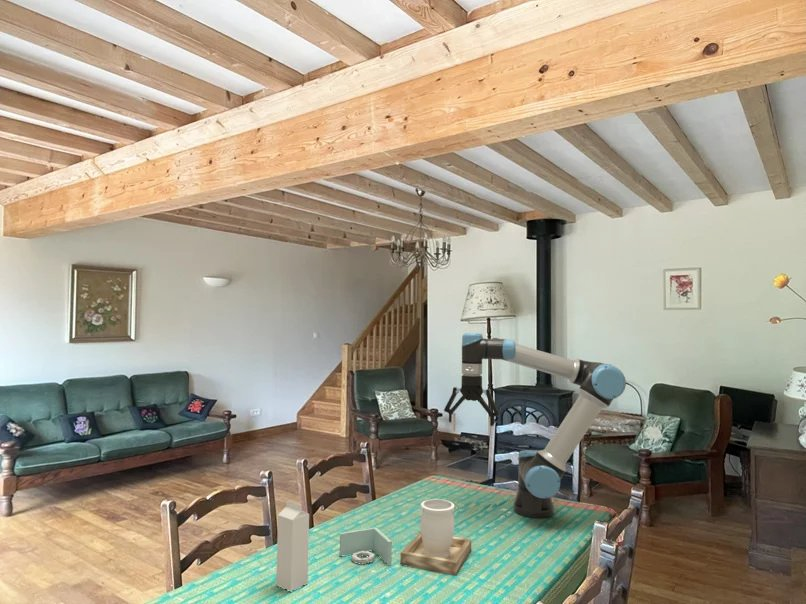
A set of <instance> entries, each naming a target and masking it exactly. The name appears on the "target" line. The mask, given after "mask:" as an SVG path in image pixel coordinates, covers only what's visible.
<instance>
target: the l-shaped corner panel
mask: <svg viewBox="0 0 806 604" xmlns="http://www.w3.org/2000/svg"><path fill="white" fill-rule="evenodd" d="M392 543H393V541H392V540H391V539H389V537H387V536H386V534H384V533H383V531H381V530H380V529H379V528H377V526H375V527H368V528H362V529H357V530H356V529H355V530H350V531H344V532H340V533H339V555H340V556H342V555H348V554H353V553H355V554H353V555H351V562H352V561H354V562H357V563H360V564H359V565H362V563H363V564H366V563H369V562H370V563H373V562H374V561H375V555H377V554H378V555H379V556H380V557H381V558H382V559H383V560H384V561H385V562H386V563H387V564H388V565H390V566H392V555H393V553H392V552H393V551H392V550H393V544H392ZM369 550H374V551H375V552H376V553H377V554H376V553H375V552H374V551H371V552H369ZM372 552H374V553H375V554H374V553H372ZM362 555H363V556H368V557H364V558H361V557H359V556H362ZM378 555H377V556H378ZM340 556H339V557H340ZM379 556H378V557H379ZM380 557H379V558H380ZM381 558H380V559H381ZM382 559H381V560H382ZM373 560H374V561H373ZM383 560H382V561H383ZM384 561H383V562H384ZM385 562H384V563H385ZM386 563H385V564H386ZM387 564H386V565H387ZM366 565H367V564H366ZM388 565H387V566H388Z"/></svg>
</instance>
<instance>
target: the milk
mask: <svg viewBox="0 0 806 604" xmlns="http://www.w3.org/2000/svg"><path fill="white" fill-rule="evenodd" d="M302 507H303V506H302V504H301V503H298V502H297V503H296V502H294V501H290V500H287V501H286V506H285V507H284V508H283V509H282V510H281V511H280V512H279V513H278V516H277V539H276V542H277V546H276V579H275V580H276V581H275V585H276V584H277V585H279V586H281V587H283V588H285V589H287V590H290V591H292V590H294V589H296V588H299V587H301V586H302V585H304V584H306V583H308V582H309V581H308V580H309V575H308V574H309V573H308V572H309V543H310V541H309V539H310V538H309V537H310V536H309V534H310V513H308V512H306V511H303V510H302ZM301 588H302V587H301ZM299 589H300V588H299Z"/></svg>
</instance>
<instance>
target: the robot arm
mask: <svg viewBox="0 0 806 604" xmlns="http://www.w3.org/2000/svg"><path fill="white" fill-rule="evenodd" d="M483 360H502V361H506V362H508V363H513V364H516V365H519V366H522V367H526V368H530V369H533V370H535V371H540V372H543V373H545V374H550V375H553V376H557V377H559V378H563V379H566V380H569V382H570V383H571V384H574V385H576V386H579V388H578V391H579V396H578V397H577V399H576V400H575V402H574V404H573V405H572V406H571V408H570V409H569V411H568V412H567V414H566V415H565V417H564V419H563V420H562V422H561V423H560V425H559V426H558V428H557V429H556V430H555V432H554V434H553V435H552V437H551V438H550V440H549V442H548V443H547V445H545V448H544V449H541V450H536V449H535V450H531V449H525V450H520V451H519V452H518V457H517V460H518V465H517V466H518V469H517V470H518V471H517V472H518V480H517V482H518V489H517V493H516V495H515V499H514V502H513V511H514V512H515V513H516V514H518V515H521V516H523V517H526V516H527V517H526V518H532V517H533V519H534V518H535V519H536V518H537V519H543V518H550V517H553V515H554V514H555V507H554V504H553V500H552V497H554V496H555V495H556V494H557V493H558V492H559V490H560V487H561V480H562V479H563V477H564V475H565V473H566V472H567V469H566V464H567V461H569V459H570V457H571V456H572V455H573V453H574V451H575V449H576V448H577V447H578V446H579V444H580V442H581V441H582V439H583V437H584V436H585V435H586V433H587V432H588V430H589V428H590V427H591V426H592V424H593V422H594V421H595V420H596V418H597V416H598V415H599V413H600V412H601V410H602V409H605V408H606V409H607V408H609V407H610V405H611V404H612V402H613V401H614V399H617V398H619V397H621V396H622V394H623V393H624V392H625V389H626V385H627V382H626V377H625V375H624V373H623V372H622V370H621V369H619V368H618V367H616V365H615V366H614V365H612V364H610V363H609V364H608V363H604V362H599V361H598V362H595V361H587V360H582V359H580V358H576V359H575V360H574V359H569V358H566V357H563V356H559V355H557V354H553V353H549V352H546V351H543V350H542V351H541V350H538V349H535V348H532V347H528V346H524V345H522V344H518V343H516V341H515V340H514V339H510V338H509V339H508V338H498V337H493V338H492V337H491V338H484V335H483V333H478V332H475V333H474V332H472V333H471V332H469V333H468V332H465V333H464V334H462V337H461V374H462V375H461V386H460V387H457V386H454V387H453V388H452V393H451V396H450V397H449V399H448V401H447V403H446V405H445V407H444V410H443V411H444V412H445V413H448V422H449V423H451V425H450V426H451V427H450V428H451V431H450V432H452V433H454V432H455V431H456V413H455V411H456V410H457V408H458V407H459V406H460V405H461V404H462V403H463V402H464V401H465V400H466V401H472V402H476V401H478V403H479V404H480V405H481V406H482V408H483V410H485V411H486V413H487V414H488V415H489V416H488V417H487V436H492V427H493V426H495V417H497V416H499V415H500V411H499V409H498V406H497V404H496V401H495V400H494V397H493V395H492V391H491V389H490V388H486V389H483V376H482V374H483ZM459 392H460V393H461V396H460V398H459V399H458V400H457V401H456V403H455V404H453V403H454V401H455V399H456V397H457V395H458V394H459ZM483 394H484V395H485V396H486V398H487V401H488V402H489V404H490V406H489V405H488V404H487V402H486V400H485V399H484V398H483V397H482V395H483ZM452 405H453V406H452Z"/></svg>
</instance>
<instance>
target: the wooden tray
mask: <svg viewBox="0 0 806 604" xmlns="http://www.w3.org/2000/svg"><path fill="white" fill-rule="evenodd" d="M424 549H425V547H424V545H423V541H422V533H421V530H420V531H419V532H418V534H416V535H415V537H414V538H413V539H412V540H411V541H410V542H409V543H408V545H407V546H405V547H404V548H403V549H402V550H401V552H400V564H402V565H401V566H404V565H407V566H406V567H409V566H411V567H410V568H414V567H416V568H415V569H419V568H421V569H420V570H426V571H430V572H436V573H440V572H441V573H440V574H444V575H452V576H457V575H458V573H459V572H460V570H461V568H462V567H463V565H464V563H465V562H466V560H467V558H468V557H469V555H470V554H471V552H472V539H470V538H465V537H460V536H459V537H458V536H453V540H452V544H451V547H450V549H449V550H450V552H451V555H450V556H449V557H448V558H439V557H434V556H428V555H424Z"/></svg>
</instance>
